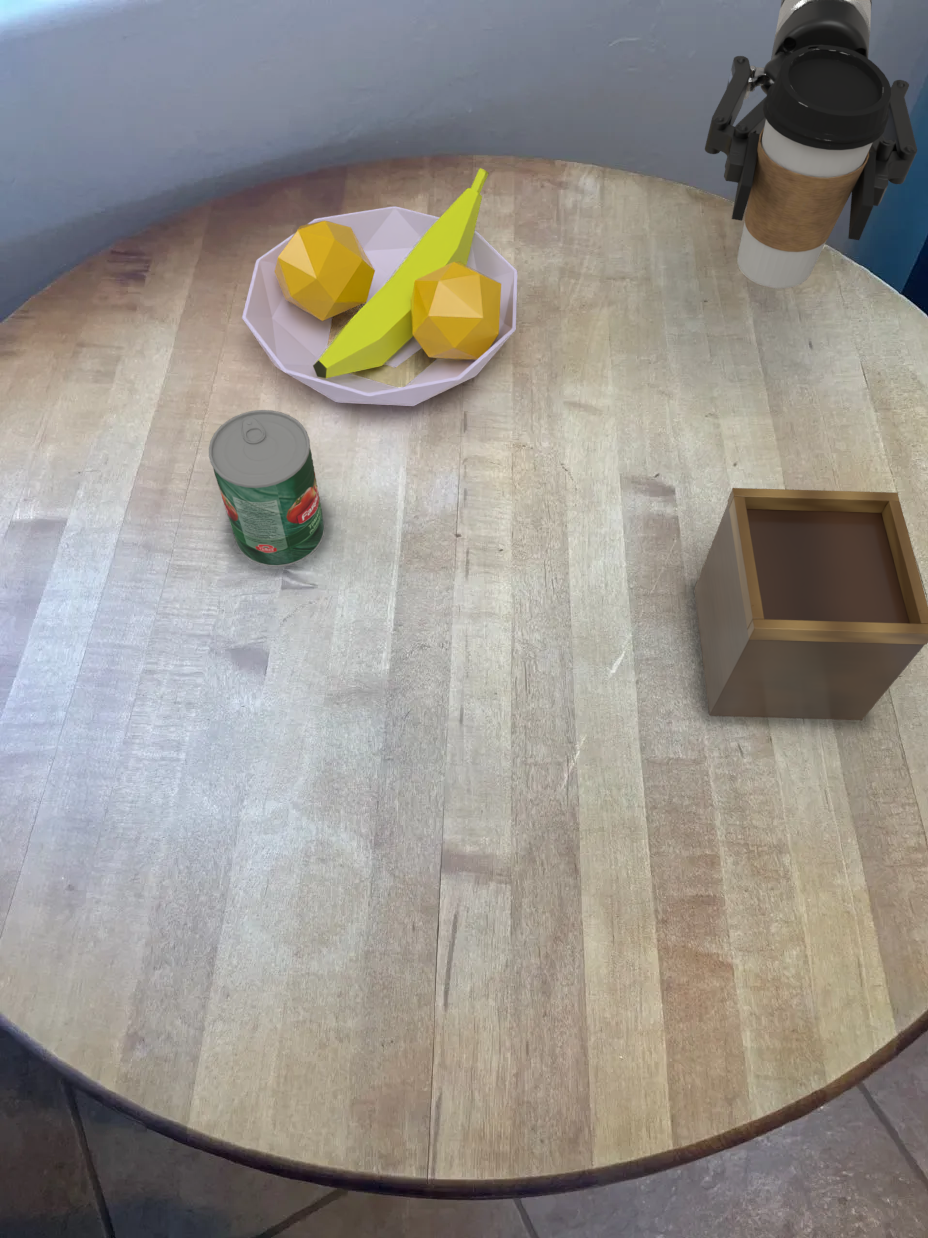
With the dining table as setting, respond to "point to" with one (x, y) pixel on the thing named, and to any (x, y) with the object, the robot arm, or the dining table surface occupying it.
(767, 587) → the box
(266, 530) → the canned tomato
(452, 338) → the fruit bowl
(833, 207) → the coffee cup
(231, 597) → the dining table surface
